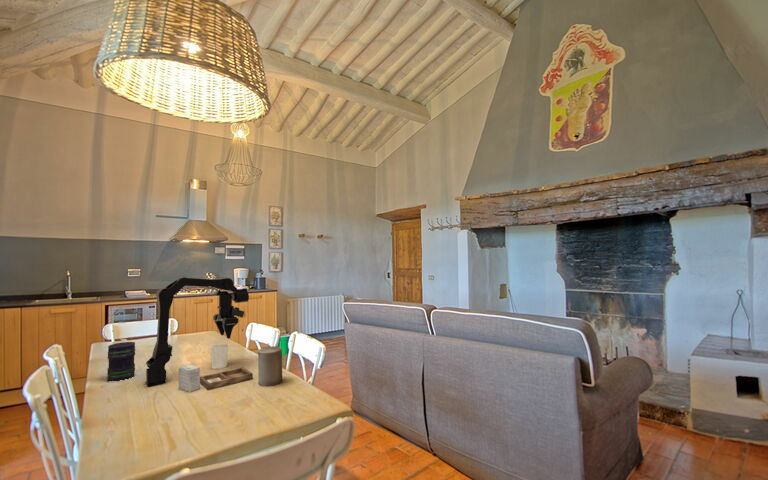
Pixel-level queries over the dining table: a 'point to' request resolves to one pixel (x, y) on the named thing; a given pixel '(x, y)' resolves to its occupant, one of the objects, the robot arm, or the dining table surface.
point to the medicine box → (189, 378)
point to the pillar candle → (270, 366)
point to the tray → (225, 378)
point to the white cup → (219, 356)
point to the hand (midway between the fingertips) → (225, 336)
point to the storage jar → (121, 361)
